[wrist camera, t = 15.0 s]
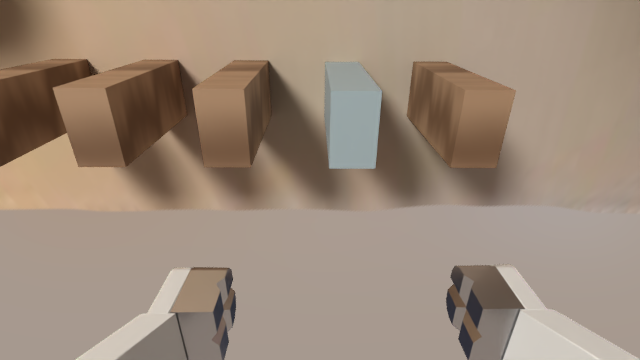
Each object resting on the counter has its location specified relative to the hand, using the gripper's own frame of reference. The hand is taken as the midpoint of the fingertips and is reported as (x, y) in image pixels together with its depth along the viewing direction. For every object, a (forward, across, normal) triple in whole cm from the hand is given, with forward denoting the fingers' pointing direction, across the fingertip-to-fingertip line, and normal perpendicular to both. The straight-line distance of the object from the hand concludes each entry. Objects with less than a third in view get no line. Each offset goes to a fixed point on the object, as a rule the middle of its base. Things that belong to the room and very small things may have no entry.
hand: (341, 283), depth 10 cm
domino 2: (+25, +14, 0) cm, 29 cm away
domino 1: (+25, +22, 0) cm, 34 cm away
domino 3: (+25, +6, 0) cm, 26 cm away
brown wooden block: (+25, -10, 0) cm, 27 cm away
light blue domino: (+25, -2, 0) cm, 25 cm away
